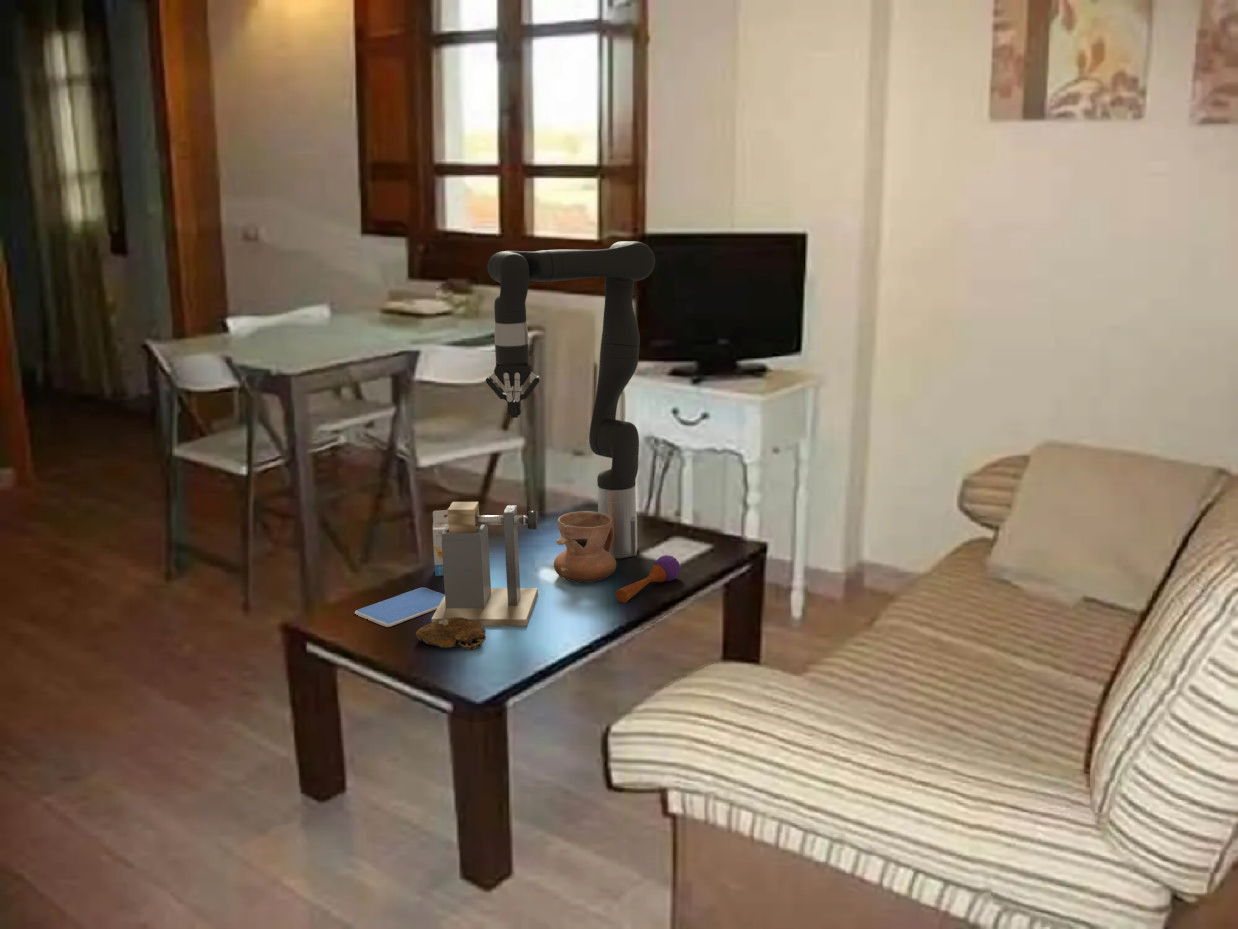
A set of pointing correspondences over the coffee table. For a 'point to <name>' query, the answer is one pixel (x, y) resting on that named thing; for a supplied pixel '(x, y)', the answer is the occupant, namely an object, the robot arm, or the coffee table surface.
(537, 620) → the coffee table surface
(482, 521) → the steel shaft
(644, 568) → the coffee table surface
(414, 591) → the tablet computer
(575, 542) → the ceramic jug
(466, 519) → the collar
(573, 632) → the coffee table surface
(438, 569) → the ink box
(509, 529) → the shaft bracket
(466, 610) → the birch board
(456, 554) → the pedestal
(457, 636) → the decorative rock
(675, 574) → the purple maraca
